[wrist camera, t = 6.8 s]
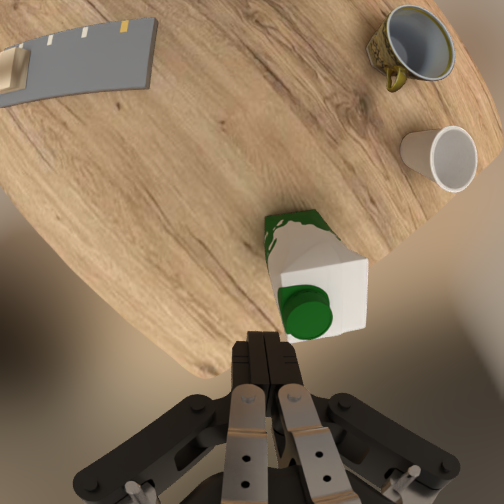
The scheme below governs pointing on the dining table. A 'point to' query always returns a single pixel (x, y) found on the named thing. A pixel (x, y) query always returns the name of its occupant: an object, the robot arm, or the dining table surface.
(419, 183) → the dining table surface
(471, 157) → the dixie cup
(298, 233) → the soya milk
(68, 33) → the board
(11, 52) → the knob
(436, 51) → the ceramic cup
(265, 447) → the robot arm
